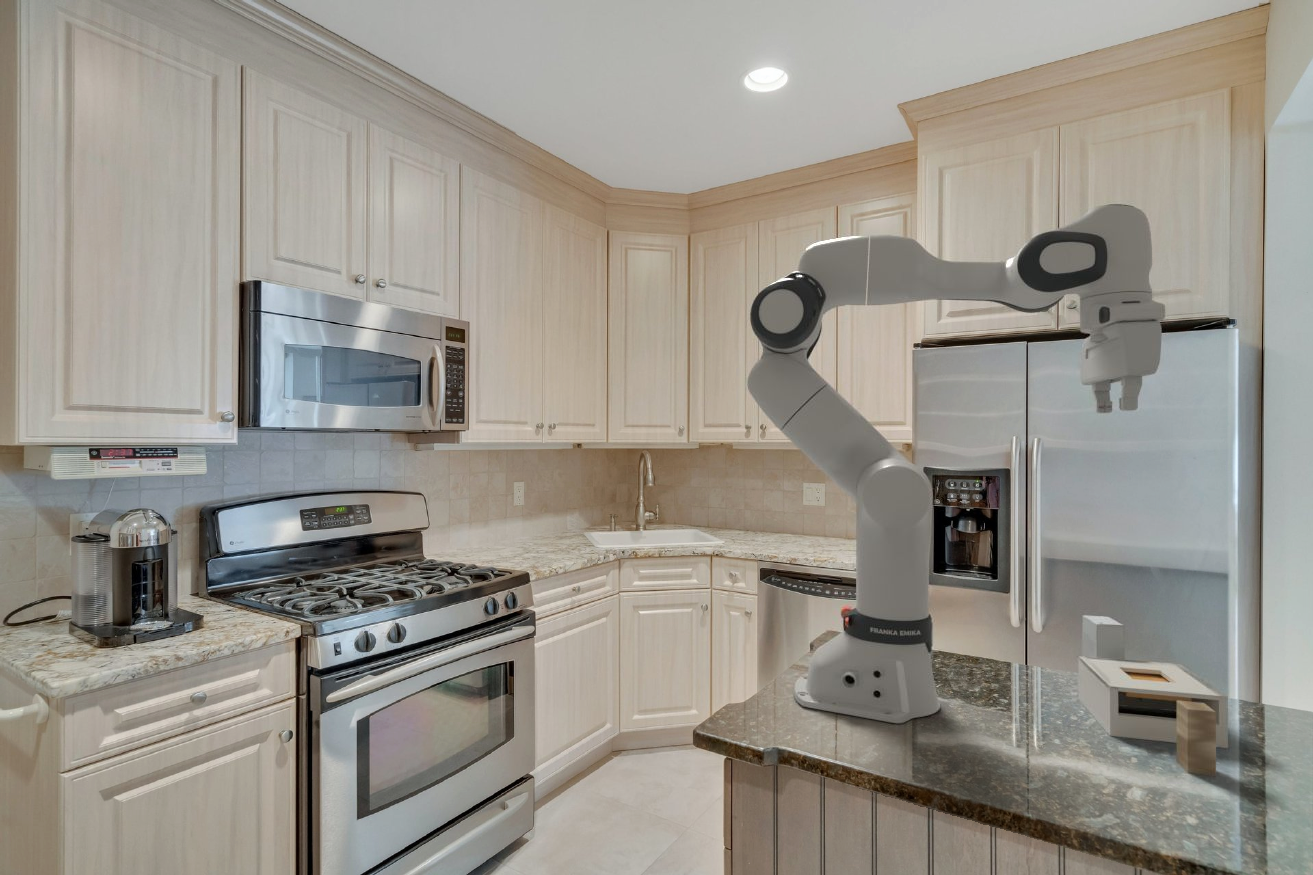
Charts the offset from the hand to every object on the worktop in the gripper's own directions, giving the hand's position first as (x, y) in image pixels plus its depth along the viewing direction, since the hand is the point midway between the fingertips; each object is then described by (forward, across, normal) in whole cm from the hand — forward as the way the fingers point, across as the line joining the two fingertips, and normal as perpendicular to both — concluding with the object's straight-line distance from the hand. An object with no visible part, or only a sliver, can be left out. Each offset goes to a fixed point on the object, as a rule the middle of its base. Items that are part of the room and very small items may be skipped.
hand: (1115, 411), depth 100 cm
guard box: (+46, -3, +5) cm, 46 cm away
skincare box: (+46, -15, +3) cm, 49 cm away
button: (+43, -3, +5) cm, 43 cm away
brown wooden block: (+46, +12, +5) cm, 48 cm away
